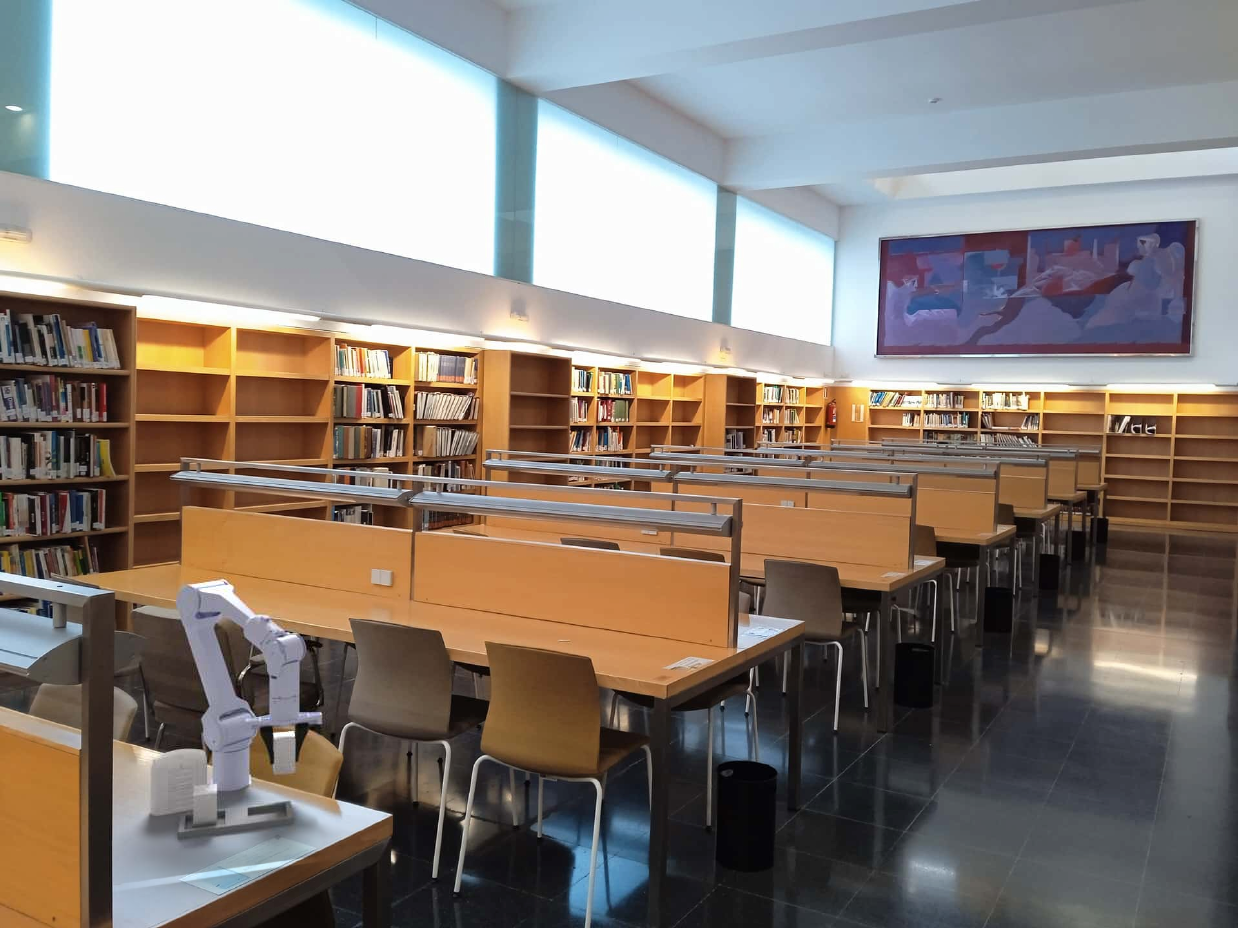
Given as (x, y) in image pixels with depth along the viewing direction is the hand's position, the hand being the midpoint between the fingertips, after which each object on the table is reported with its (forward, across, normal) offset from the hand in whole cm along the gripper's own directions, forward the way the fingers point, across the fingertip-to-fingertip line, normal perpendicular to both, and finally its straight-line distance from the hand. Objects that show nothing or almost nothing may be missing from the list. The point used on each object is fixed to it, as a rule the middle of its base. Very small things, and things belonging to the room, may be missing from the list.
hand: (284, 761), depth 197 cm
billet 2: (+2, 0, 0) cm, 2 cm away
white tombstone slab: (+9, -20, +2) cm, 21 cm away
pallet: (+8, -9, -9) cm, 15 cm away
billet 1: (+8, -14, -9) cm, 19 cm away
